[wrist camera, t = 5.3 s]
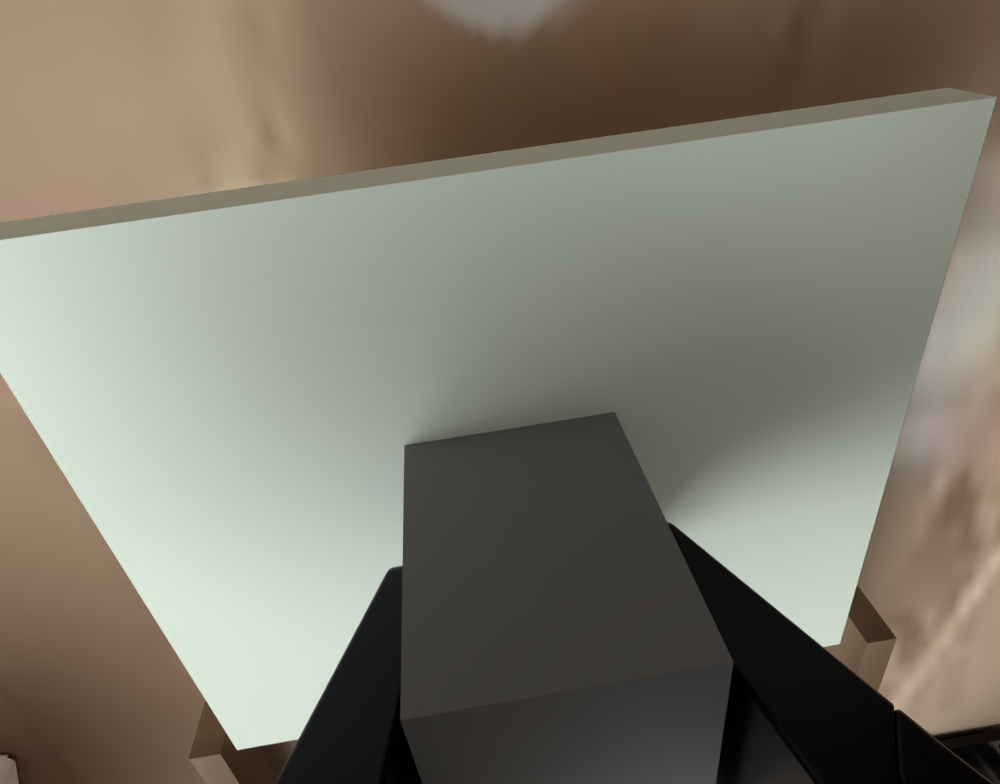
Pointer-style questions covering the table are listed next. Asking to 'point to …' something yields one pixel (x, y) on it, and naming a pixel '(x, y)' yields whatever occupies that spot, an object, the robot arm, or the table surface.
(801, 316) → the cover plate
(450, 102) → the table surface
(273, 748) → the walnut box
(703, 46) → the table surface
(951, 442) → the table surface
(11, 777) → the gable box
